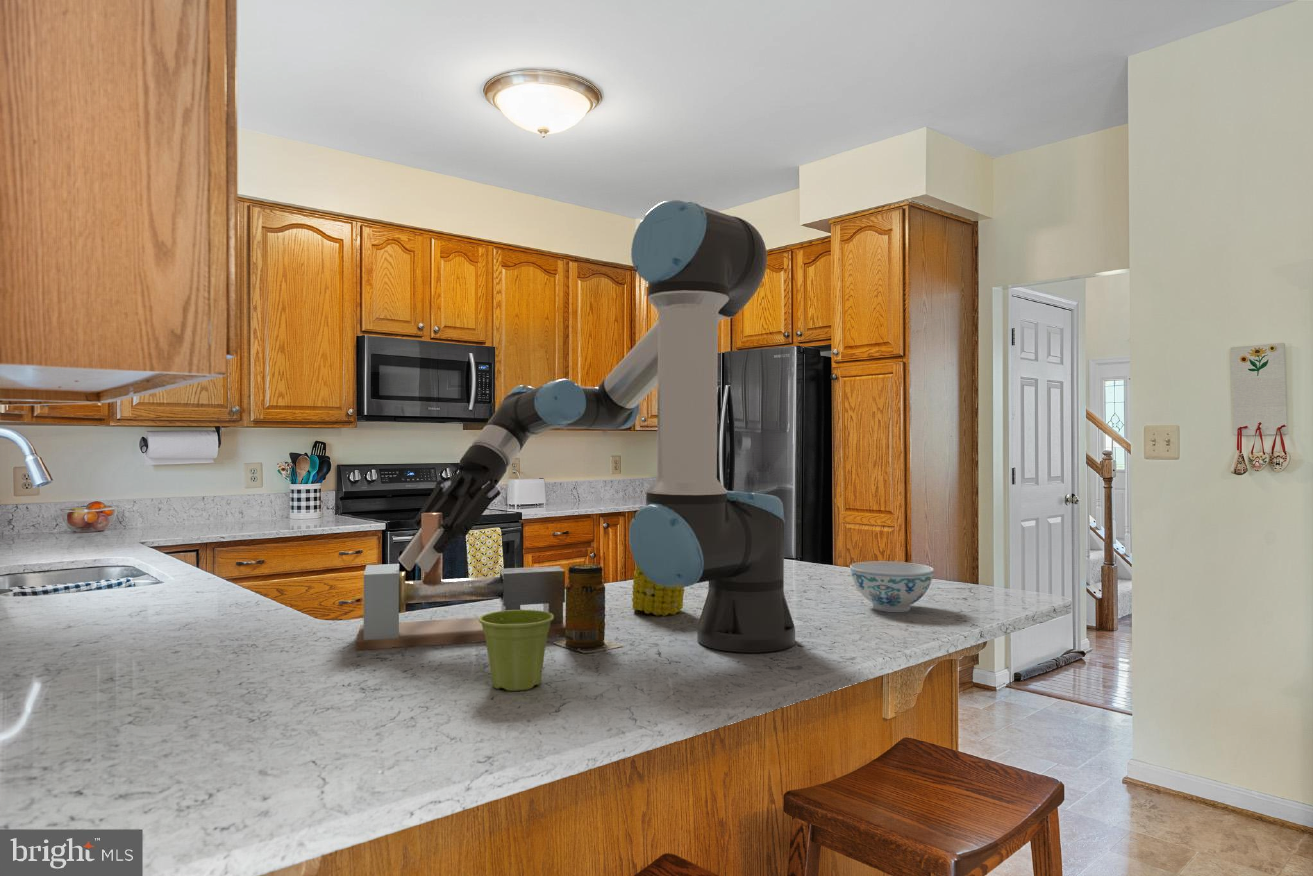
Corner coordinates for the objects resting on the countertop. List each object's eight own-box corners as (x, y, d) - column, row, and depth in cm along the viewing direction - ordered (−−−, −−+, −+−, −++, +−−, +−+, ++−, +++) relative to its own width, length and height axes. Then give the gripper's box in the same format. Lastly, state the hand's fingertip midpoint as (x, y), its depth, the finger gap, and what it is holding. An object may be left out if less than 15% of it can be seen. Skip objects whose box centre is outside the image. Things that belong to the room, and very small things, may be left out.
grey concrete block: (559, 616, 137) (559, 566, 137) (564, 623, 132) (565, 570, 132) (499, 620, 134) (499, 568, 134) (503, 627, 129) (503, 573, 129)
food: (631, 615, 151) (684, 618, 151) (630, 614, 140) (688, 617, 140) (635, 534, 155) (687, 537, 155) (634, 526, 143) (691, 529, 143)
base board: (558, 619, 141) (558, 612, 141) (572, 635, 129) (572, 627, 129) (360, 632, 131) (360, 624, 131) (355, 650, 120) (356, 642, 120)
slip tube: (508, 602, 135) (508, 510, 135) (513, 609, 129) (513, 513, 129) (379, 609, 129) (379, 513, 129) (378, 618, 123) (378, 516, 123)
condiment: (591, 636, 128) (591, 561, 128) (623, 647, 122) (623, 567, 122) (552, 644, 124) (552, 565, 124) (583, 655, 117) (583, 572, 117)
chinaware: (880, 597, 161) (880, 559, 161) (949, 609, 149) (949, 567, 149) (833, 607, 151) (833, 566, 151) (904, 621, 140) (904, 576, 140)
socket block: (399, 623, 132) (399, 563, 132) (398, 637, 122) (398, 573, 122) (366, 625, 130) (366, 565, 130) (363, 640, 121) (363, 574, 121)
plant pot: (473, 678, 105) (473, 611, 106) (544, 671, 109) (544, 606, 109) (484, 699, 97) (484, 627, 97) (561, 691, 100) (561, 621, 100)
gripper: (535, 473, 137) (462, 585, 123) (466, 471, 146) (391, 576, 132) (513, 442, 133) (435, 554, 119) (444, 442, 142) (364, 547, 128)
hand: (412, 565), depth 125 cm, fingers closed on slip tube, 3 cm apart
